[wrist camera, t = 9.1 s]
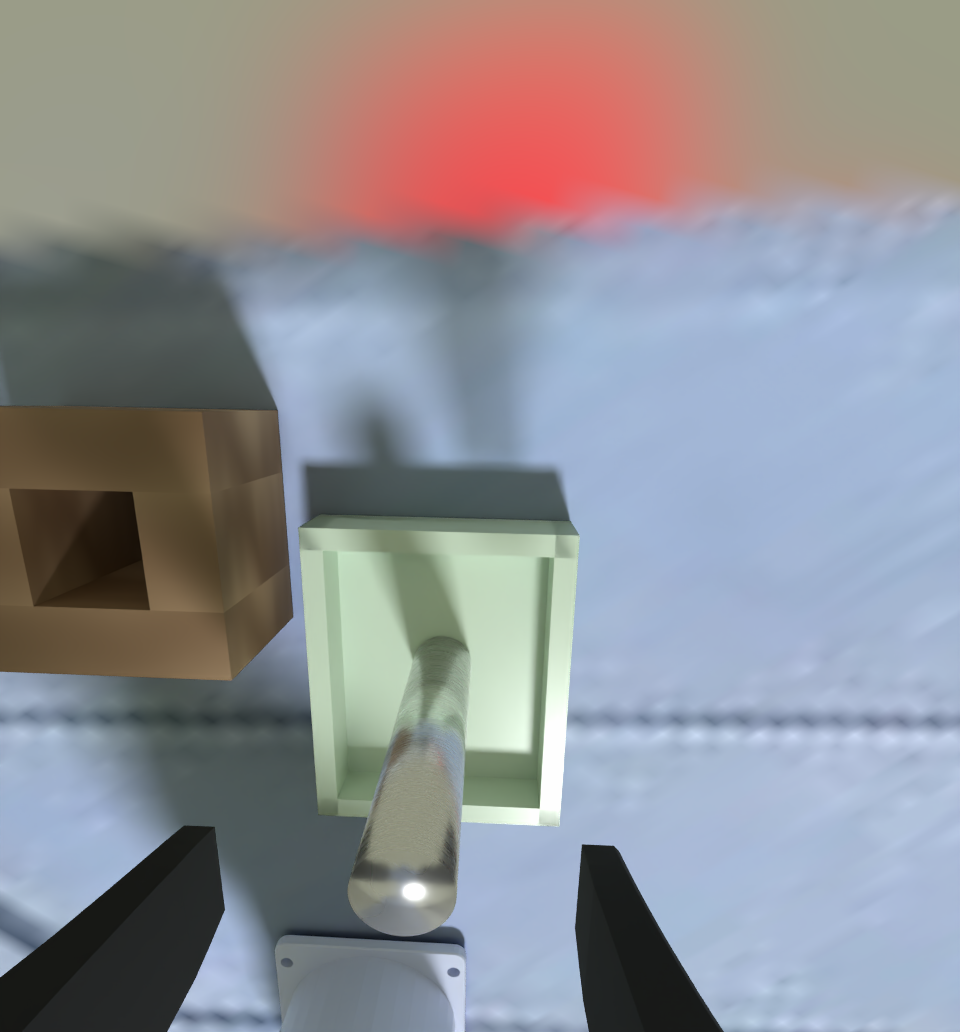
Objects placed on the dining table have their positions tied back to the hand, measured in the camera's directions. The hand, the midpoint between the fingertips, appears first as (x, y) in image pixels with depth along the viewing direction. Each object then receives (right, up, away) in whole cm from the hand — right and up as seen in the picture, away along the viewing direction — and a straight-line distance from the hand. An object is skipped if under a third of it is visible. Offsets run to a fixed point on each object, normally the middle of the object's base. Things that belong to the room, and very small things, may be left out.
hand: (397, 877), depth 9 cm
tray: (0, +2, +8) cm, 8 cm away
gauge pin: (0, +2, +7) cm, 8 cm away
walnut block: (-9, +7, +7) cm, 13 cm away
